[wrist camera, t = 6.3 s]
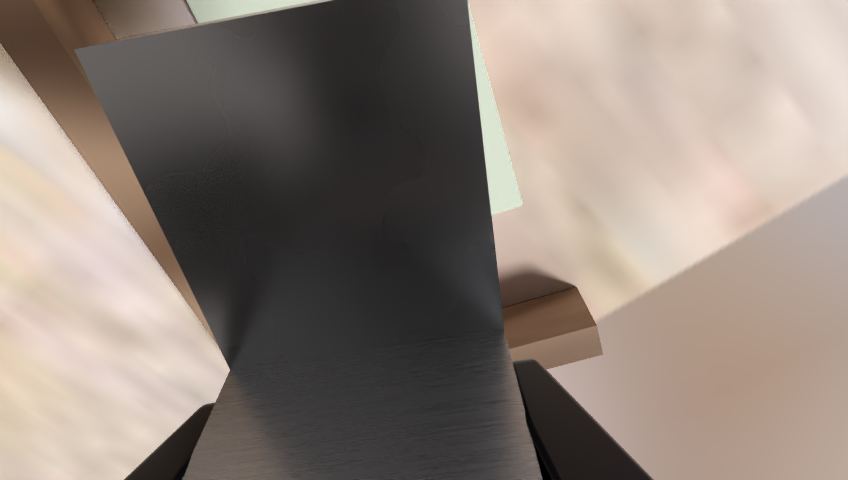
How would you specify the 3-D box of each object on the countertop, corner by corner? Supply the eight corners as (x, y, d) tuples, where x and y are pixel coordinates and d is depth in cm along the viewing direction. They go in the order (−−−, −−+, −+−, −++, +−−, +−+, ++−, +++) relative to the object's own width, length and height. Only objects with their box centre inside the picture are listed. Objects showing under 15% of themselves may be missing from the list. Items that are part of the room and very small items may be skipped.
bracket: (500, 349, 9) (610, 820, 4) (276, 382, 10) (120, 861, 5) (456, -27, 6) (663, -4, 1) (127, 36, 7) (-961, 293, 1)
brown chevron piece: (-24, -95, 14) (-108, -108, 11) (436, -316, 12) (443, -382, 9) (297, 393, 23) (284, 438, 21) (582, 314, 21) (602, 354, 19)
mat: (170, -35, 14) (167, -36, 14) (428, -146, 13) (428, -147, 13) (326, 264, 19) (326, 267, 19) (522, 203, 18) (523, 205, 18)
